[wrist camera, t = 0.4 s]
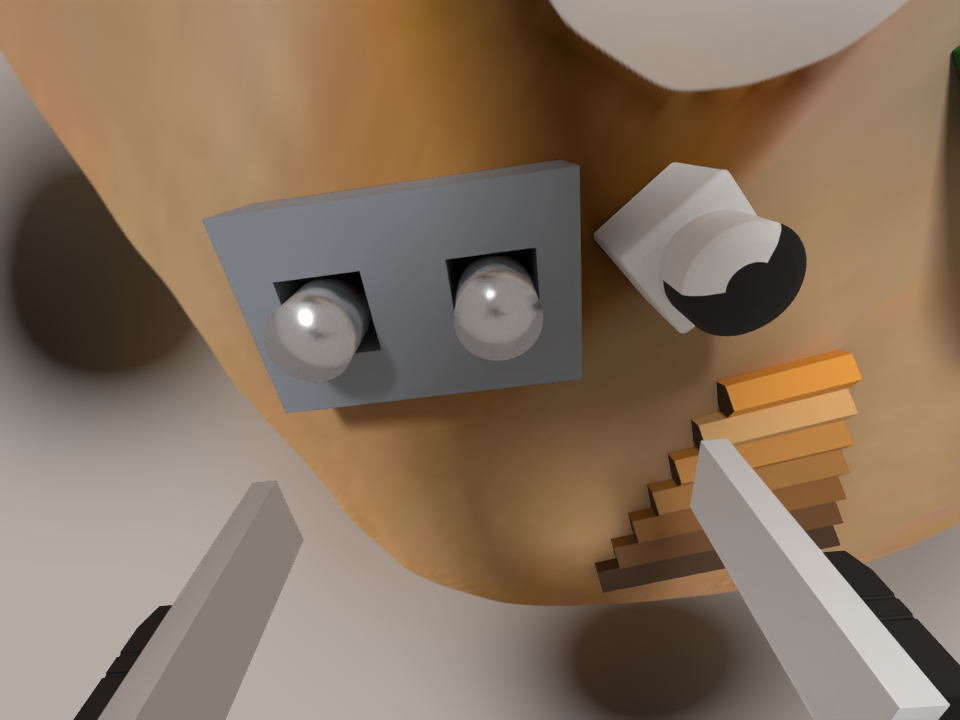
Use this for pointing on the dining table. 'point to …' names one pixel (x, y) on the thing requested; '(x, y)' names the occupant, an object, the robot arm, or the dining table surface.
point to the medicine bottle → (704, 252)
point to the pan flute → (766, 448)
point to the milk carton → (957, 58)
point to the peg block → (414, 276)
